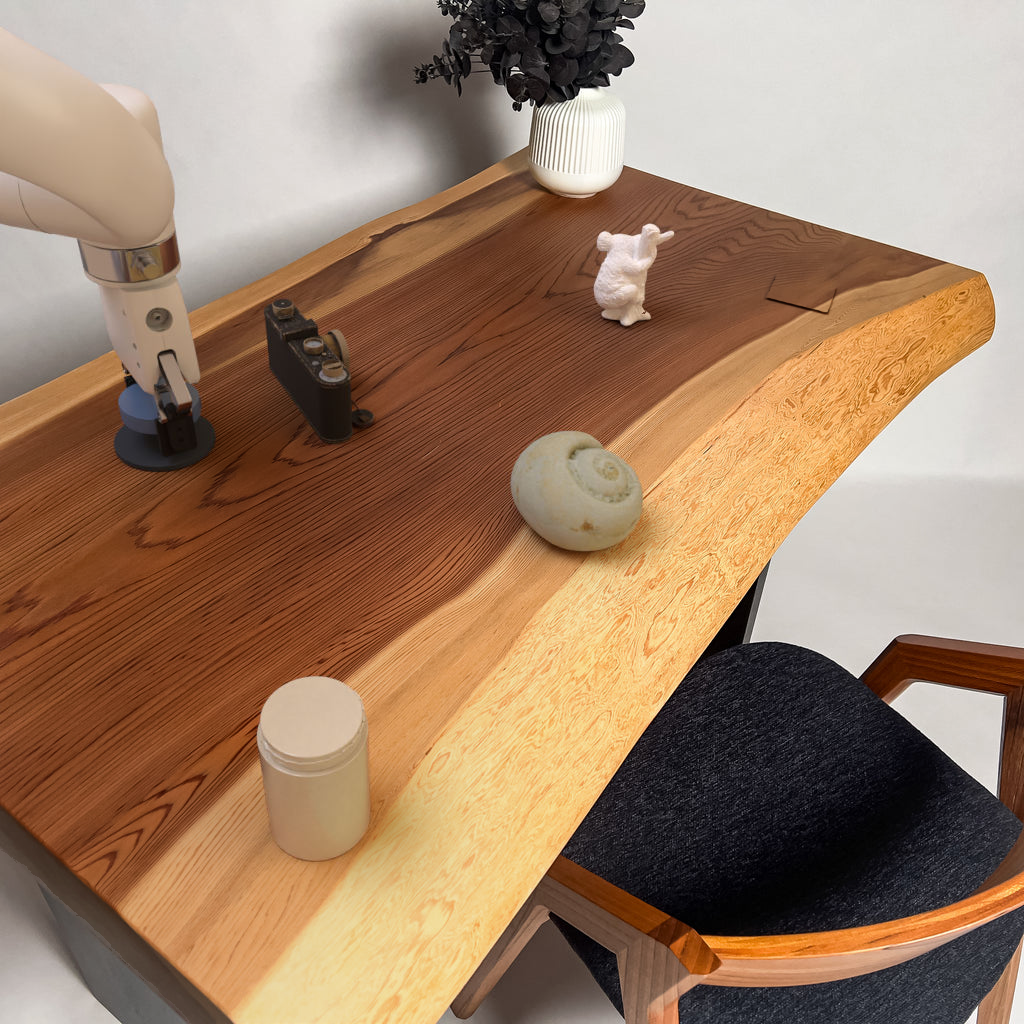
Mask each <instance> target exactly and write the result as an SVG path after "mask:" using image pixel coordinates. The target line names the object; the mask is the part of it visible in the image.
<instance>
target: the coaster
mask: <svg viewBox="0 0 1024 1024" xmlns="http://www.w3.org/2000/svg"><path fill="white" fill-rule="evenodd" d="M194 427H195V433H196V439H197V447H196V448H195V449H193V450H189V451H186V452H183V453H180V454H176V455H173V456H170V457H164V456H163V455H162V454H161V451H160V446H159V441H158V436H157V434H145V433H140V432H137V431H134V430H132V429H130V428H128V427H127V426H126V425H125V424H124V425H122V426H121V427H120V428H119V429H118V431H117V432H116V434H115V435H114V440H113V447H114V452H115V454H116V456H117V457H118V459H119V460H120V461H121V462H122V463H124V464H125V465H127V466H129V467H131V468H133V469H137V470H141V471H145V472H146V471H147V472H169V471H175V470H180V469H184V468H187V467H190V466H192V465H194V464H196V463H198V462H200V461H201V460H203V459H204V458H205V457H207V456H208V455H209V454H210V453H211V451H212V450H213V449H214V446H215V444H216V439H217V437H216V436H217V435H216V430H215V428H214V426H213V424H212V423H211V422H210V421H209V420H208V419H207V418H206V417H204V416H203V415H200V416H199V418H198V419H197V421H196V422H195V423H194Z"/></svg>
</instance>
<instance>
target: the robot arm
mask: <svg viewBox="0 0 1024 1024" xmlns="http://www.w3.org/2000/svg"><path fill="white" fill-rule="evenodd" d="M163 145H164V144H163V138H162V133H161V124H160V120H159V115H158V111H157V108H156V106H155V104H154V101H152V99H151V98H150V97H149V95H147V94H146V93H145V92H143V91H141V90H140V89H138V88H136V87H133V86H129V85H124V84H121V83H112V82H95V81H93V80H92V79H90V78H89V77H88V76H86V75H84V74H82V73H80V72H79V71H78V70H76V69H74V68H73V67H71V66H69V65H68V64H66V63H64V62H62V61H61V60H58V59H56V58H55V57H54V56H52V55H49V54H48V53H46V52H45V51H43V50H41V49H39V48H37V47H35V46H34V45H32V44H31V43H29V42H27V41H25V40H24V39H22V38H21V37H19V36H16V35H15V34H13V33H12V32H10V31H9V30H7V29H6V28H4V27H2V26H0V225H3V226H8V227H11V228H18V229H23V230H27V231H28V230H29V231H33V232H39V233H44V234H49V235H57V236H62V237H66V238H67V237H68V238H72V239H76V241H77V245H78V246H77V247H78V250H79V256H80V259H81V264H82V268H83V273H84V275H85V277H86V278H87V279H88V281H90V282H92V283H94V284H96V285H97V286H98V291H99V297H100V302H101V308H102V312H103V318H104V322H105V326H106V331H107V334H108V337H109V340H110V343H111V346H112V348H113V350H114V352H115V354H116V355H117V357H118V358H119V360H120V361H121V362H120V363H121V367H122V371H123V373H124V375H125V376H124V377H123V379H124V384H125V389H127V388H128V387H130V386H131V385H133V384H135V383H138V384H139V386H140V387H141V388H142V389H143V391H145V392H147V393H148V394H151V397H152V400H153V403H154V407H155V410H156V413H157V416H158V418H156V419H154V421H155V426H156V431H157V436H158V441H159V446H160V451H161V454H162V455H163V456H164V457H170V456H173V455H176V454H180V453H183V452H186V451H189V450H193V449H195V448H196V447H197V439H196V433H195V427H194V421H193V412H192V399H191V396H190V394H189V391H188V389H187V387H186V384H185V382H187V383H189V384H191V385H193V384H194V385H197V384H199V382H200V380H201V371H200V367H199V361H198V356H197V353H196V346H195V341H194V338H193V333H192V328H191V323H190V319H189V314H188V310H187V306H186V303H185V300H184V297H183V292H182V289H181V286H180V283H179V280H178V278H177V276H176V275H177V274H179V273H180V271H181V268H182V259H181V256H180V247H179V242H178V236H177V230H176V229H177V228H176V222H175V215H174V208H175V202H176V201H175V199H176V191H175V190H176V189H175V182H174V177H173V174H172V170H171V168H170V165H169V163H168V160H167V158H166V156H165V152H164V146H163ZM160 378H164V380H165V382H166V384H163V385H159V386H155V384H157V383H158V379H160ZM184 381H185V382H184ZM166 392H170V395H171V403H168V404H167V405H166V406H165V408H164V405H163V402H162V399H161V396H160V394H162V393H166Z"/></svg>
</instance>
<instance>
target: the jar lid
mask: <svg viewBox="0 0 1024 1024" xmlns="http://www.w3.org/2000/svg"><path fill="white" fill-rule="evenodd" d="M184 382H185V384H186V387H187V389H188V391H189V394H190V396H191V399H192V412H193V421H194V423H195V422H196V421H197V419H198V418H199V416H201V413H202V408H203V406H202V399H201V397H200V393H199V391H198V389H197V388H196V387H195V386H194V385H193V384H189V383H188V381H186V380H184ZM163 384H166V382H165V380H164V378H160V379H158V383H157V384H155V386H159V385H163ZM160 396H161V399H162V402H163V405H164V408H165V406H166V405H167V404H168V403H171V395H170V392H166V393H162V394H160ZM117 402H118V409H119V413H120V419H121V421H122V423H123V424H124V425H126V426H127V427H128V428H130V429H132V430H134V431H137V432H140V433H145V434H157V431H156V426H155V421H154V419H156V418H158V416H157V413H156V410H155V407H154V403H153V400H152V397H151V394H148V393H147V392H145V391H143V389H142V388H141V387H140V386H139V384H138V383H135V384H133V385H131V386H130V387H128V388H127V389H126V388H125V389H124V390H123V391H122V392H121V393H120V395H119V397H118V401H117Z"/></svg>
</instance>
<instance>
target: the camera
mask: <svg viewBox="0 0 1024 1024" xmlns="http://www.w3.org/2000/svg"><path fill="white" fill-rule="evenodd" d="M263 316H264V323H265V335H266V344H267V353H268V368H269V370H270V371H271V373H272V374H273V375H274V377H275V378H276V380H277V381H278V382H279V384H280V385H281V386H282V388H283V389H284V391H285V392H286V394H287V395H288V396H289V398H290V399H291V400H292V402H293V404H295V405H296V407H297V408H298V410H299V411H300V413H301V414H302V416H303V417H304V418H305V420H306V421H307V423H308V424H309V426H310V427H311V428H312V429H313V430H314V432H315V434H316V435H317V436H318V438H319V439H320V440H321V441H323V442H324V443H328V444H342V443H344V442H345V443H346V442H347V441H348V440H350V439H351V438H352V436H353V435H354V434H353V433H354V430H353V429H354V428H358V429H366V428H368V427H370V426H372V424H374V420H375V414H374V413H373V412H372V411H371V410H369V409H364V408H359V406H358V405H357V403H355V401H353V399H352V373H351V372H350V367H351V357H350V350H349V346H348V344H347V340H346V337H345V336H344V334H343V333H342V332H341V331H340V330H339V329H337V328H336V329H331V330H329V331H327V333H326V334H324V335H320V334H319V327H318V324H317V322H316V321H315V320H314V319H313V318H308V319H307V318H306V317H305V316H304V314H303V313H302V312H301V311H300V310H299V308H298V307H297V306H296V305H295V304H294V302H293V301H292V300H291V299H287V298H278V299H276V300H274V301H273V302H272V303H270V304H268V305H265V307H264V309H263ZM352 404H353V405H354V407H355V408H356V409H354V410H353V408H352V407H353V406H352ZM353 427H354V428H353Z"/></svg>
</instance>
